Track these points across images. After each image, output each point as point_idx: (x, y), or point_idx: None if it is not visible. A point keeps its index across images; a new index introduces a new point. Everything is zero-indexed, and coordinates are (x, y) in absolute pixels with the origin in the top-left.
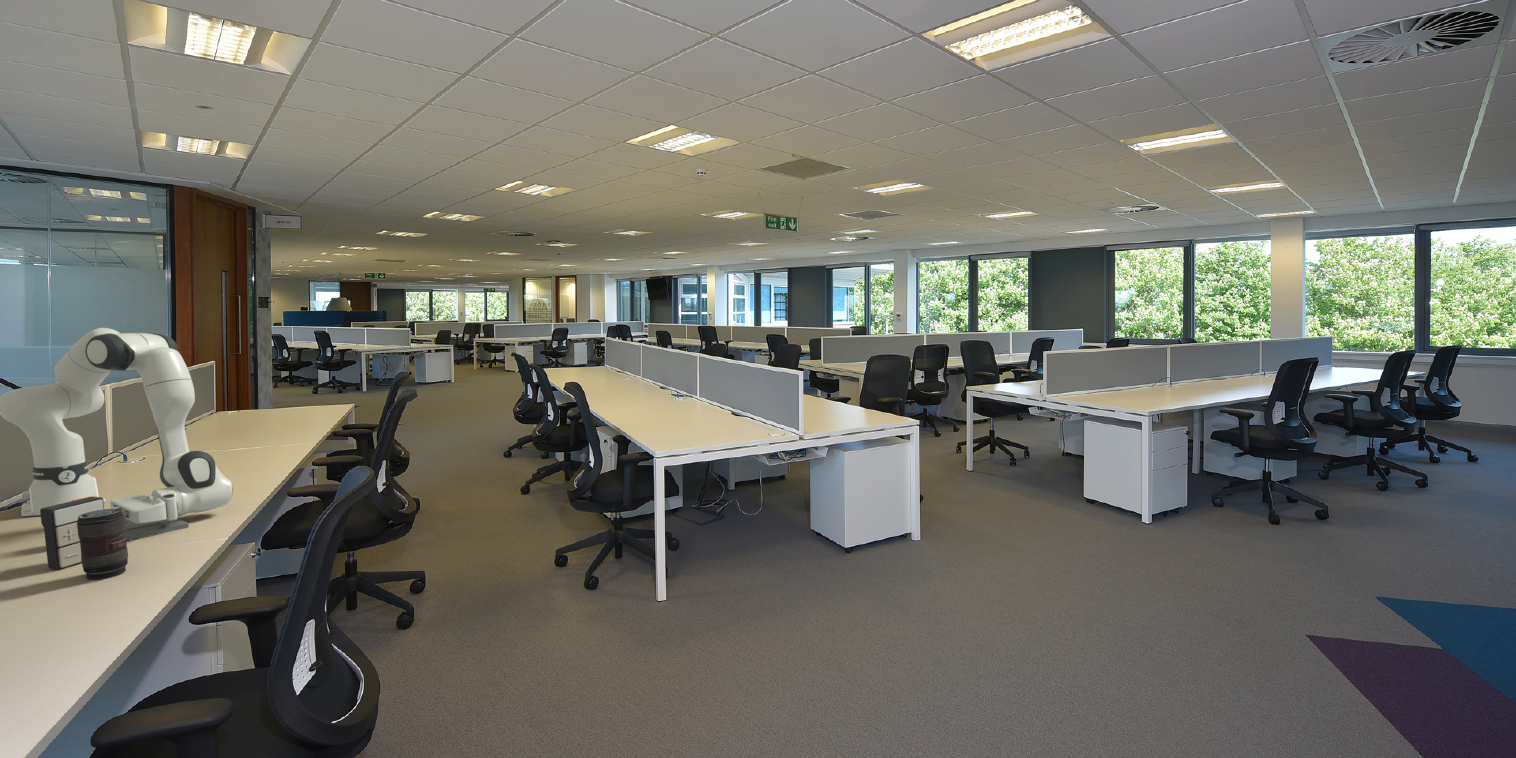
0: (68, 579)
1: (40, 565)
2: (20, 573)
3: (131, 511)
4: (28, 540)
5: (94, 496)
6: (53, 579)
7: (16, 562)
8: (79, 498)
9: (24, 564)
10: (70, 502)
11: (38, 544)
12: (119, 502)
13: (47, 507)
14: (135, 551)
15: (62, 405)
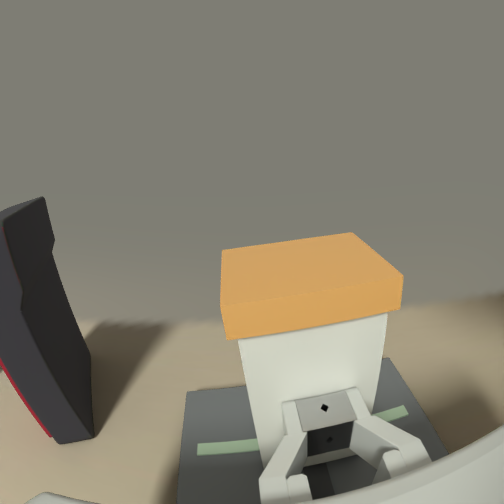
0: None
1: (140, 350)
2: (121, 329)
3: (78, 499)
4: (447, 319)
5: (364, 276)
6: None
7: (223, 325)
8: (355, 244)
9: (186, 334)
10: (13, 209)
11: (390, 340)
12: (491, 447)
13: (33, 199)
14: (13, 485)
15: None
